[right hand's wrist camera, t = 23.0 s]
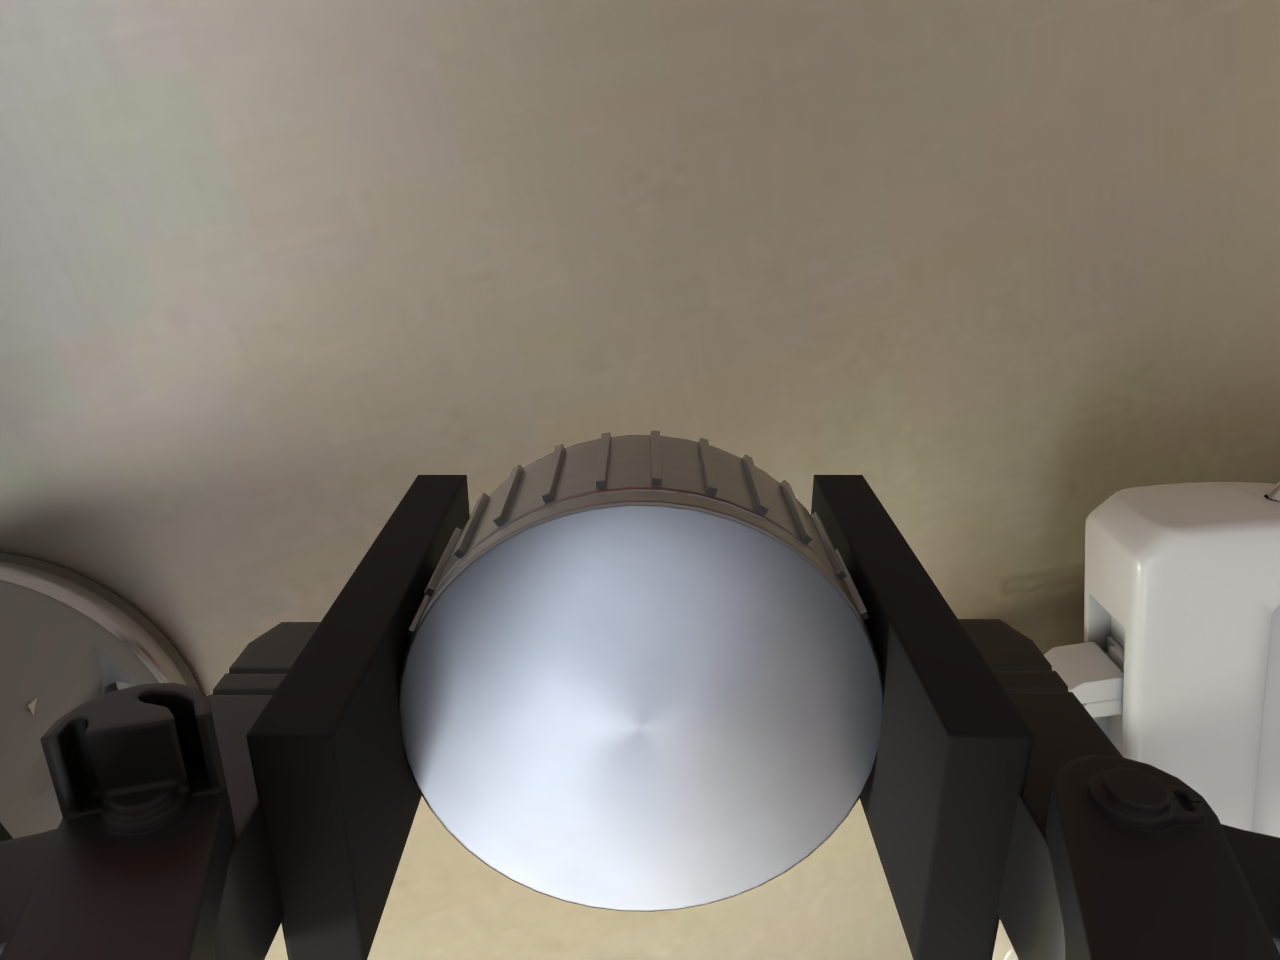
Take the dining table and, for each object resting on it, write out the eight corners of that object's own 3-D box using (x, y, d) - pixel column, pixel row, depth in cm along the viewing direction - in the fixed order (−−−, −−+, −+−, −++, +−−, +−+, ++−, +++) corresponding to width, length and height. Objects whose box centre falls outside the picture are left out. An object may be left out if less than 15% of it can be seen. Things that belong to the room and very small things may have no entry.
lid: (929, 647, 12) (990, 753, 10) (618, 853, 14) (613, 986, 11) (671, 335, 11) (678, 384, 9) (347, 601, 12) (284, 701, 10)
